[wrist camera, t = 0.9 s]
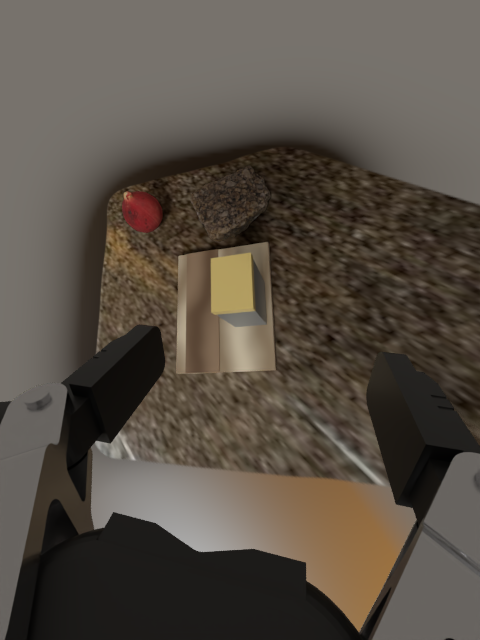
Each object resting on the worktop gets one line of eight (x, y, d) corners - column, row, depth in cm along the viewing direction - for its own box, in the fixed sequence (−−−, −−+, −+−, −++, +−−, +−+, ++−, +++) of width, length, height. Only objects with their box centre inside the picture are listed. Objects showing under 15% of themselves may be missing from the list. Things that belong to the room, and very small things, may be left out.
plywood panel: (269, 245, 38) (267, 241, 37) (276, 370, 34) (275, 370, 33) (182, 259, 42) (178, 255, 40) (180, 373, 38) (175, 373, 37)
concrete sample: (212, 253, 41) (199, 237, 36) (196, 202, 44) (182, 181, 39) (282, 223, 39) (278, 202, 34) (260, 171, 42) (253, 145, 37)
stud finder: (264, 281, 36) (250, 252, 28) (267, 324, 35) (253, 308, 26) (233, 285, 37) (210, 258, 29) (234, 327, 36) (211, 312, 27)
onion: (165, 243, 43) (134, 215, 36) (137, 238, 45) (102, 211, 37) (176, 211, 44) (148, 177, 36) (147, 208, 46) (115, 175, 38)
